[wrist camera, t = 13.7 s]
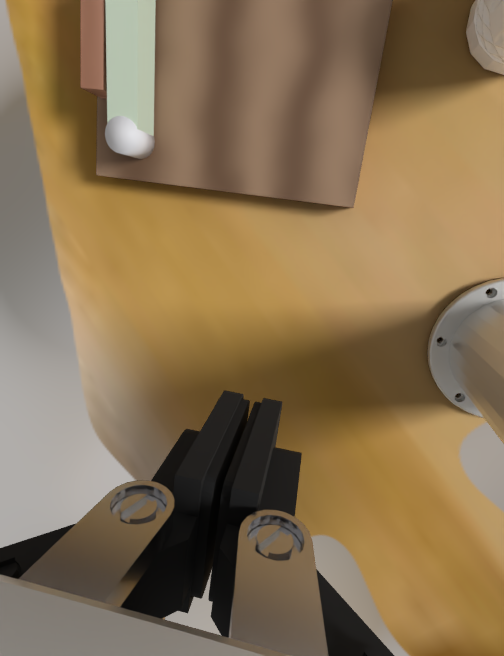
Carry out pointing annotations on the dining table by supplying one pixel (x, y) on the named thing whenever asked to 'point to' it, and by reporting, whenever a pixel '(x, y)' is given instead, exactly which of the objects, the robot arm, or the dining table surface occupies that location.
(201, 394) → the dining table surface
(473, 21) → the white cup
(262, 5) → the stool seat
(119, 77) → the stool leg
